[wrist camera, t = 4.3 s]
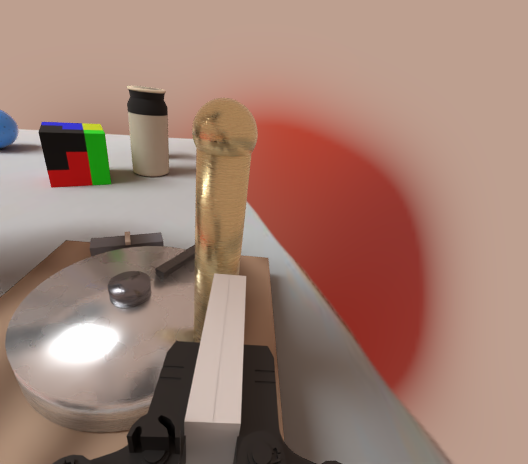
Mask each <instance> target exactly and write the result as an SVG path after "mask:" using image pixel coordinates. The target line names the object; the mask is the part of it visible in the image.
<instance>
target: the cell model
mask: <svg viewBox="0 0 528 464" xmlns="http://www.w3.org/2000/svg"><path fill="white" fill-rule="evenodd" d="M18 133H19V129H18V125H17V123H16V122H15V120H14V119H13V118H12V117H11V116H10V115H8V114H7V113H6V112H4V111H2V110H0V148H4V147H7V146H9V145H11V144H12V143H13V142H14V141H15V140H16V138H17V136H18Z"/></svg>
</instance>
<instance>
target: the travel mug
mask: <svg viewBox="0 0 528 464" xmlns="http://www.w3.org/2000/svg"><path fill="white" fill-rule="evenodd" d="M127 88H128V89H129V93H130V99H129V101H128V103H127V106H128V117H129V129H130V140H131V152H132V163H133V171H134V172H135V173H137V174H139V175H142V176H149V177H157V176H162V175H165V174H167V173H169V149H168V116H167V106H166V104H165V102H164V94H165V92H166V91H165V90H162V89H156V88H150V87H141V86H127Z"/></svg>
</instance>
